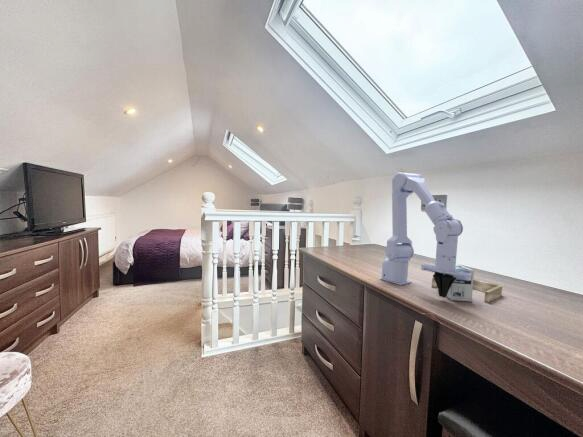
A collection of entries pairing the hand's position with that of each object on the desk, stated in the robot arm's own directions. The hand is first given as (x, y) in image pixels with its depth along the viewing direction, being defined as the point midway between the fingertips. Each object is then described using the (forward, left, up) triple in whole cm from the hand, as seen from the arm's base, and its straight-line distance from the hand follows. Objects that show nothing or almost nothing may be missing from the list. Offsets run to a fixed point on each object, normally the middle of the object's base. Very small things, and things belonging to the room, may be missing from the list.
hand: (442, 296), depth 83 cm
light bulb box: (0, +9, -2) cm, 9 cm away
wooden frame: (0, +18, -1) cm, 18 cm away
